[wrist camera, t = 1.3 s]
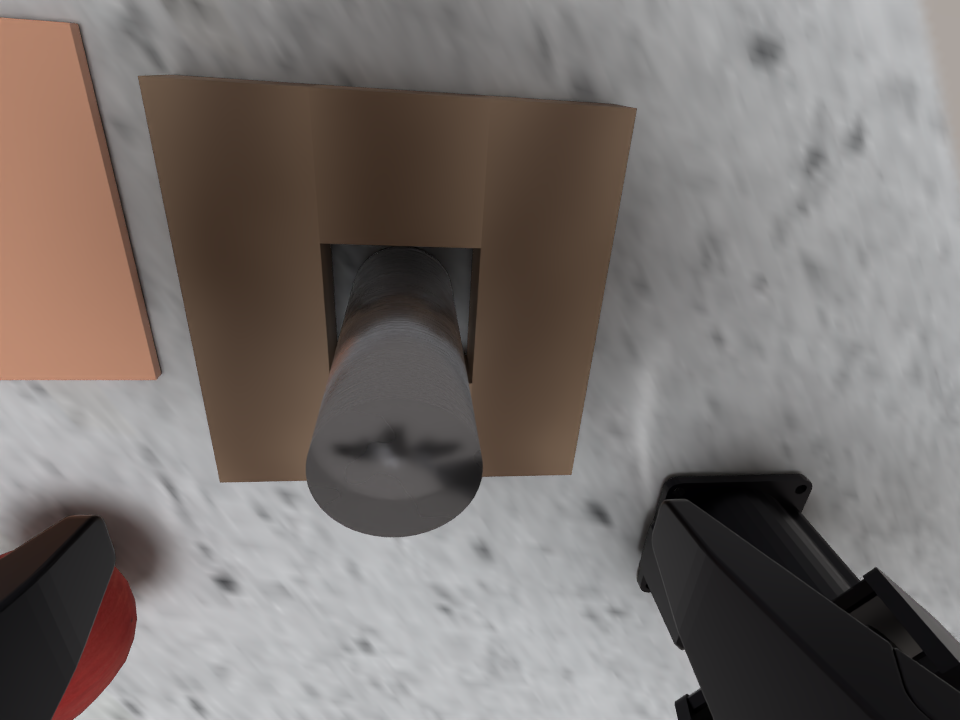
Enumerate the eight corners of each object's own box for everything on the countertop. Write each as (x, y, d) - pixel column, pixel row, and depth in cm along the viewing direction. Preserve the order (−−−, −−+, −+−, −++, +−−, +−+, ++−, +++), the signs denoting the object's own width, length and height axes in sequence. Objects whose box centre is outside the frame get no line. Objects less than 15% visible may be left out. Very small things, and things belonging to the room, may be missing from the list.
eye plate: (612, 103, 16) (637, 108, 14) (558, 441, 21) (571, 474, 20) (171, 74, 14) (137, 75, 13) (236, 445, 20) (220, 482, 18)
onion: (5, 589, 22) (-187, 834, 15) (3, 480, 20) (-225, 711, 13) (162, 610, 23) (54, 842, 16) (178, 511, 21) (61, 733, 14)
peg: (453, 247, 17) (488, 398, 9) (450, 338, 19) (477, 533, 11) (350, 244, 17) (297, 399, 9) (355, 337, 18) (313, 539, 11)
